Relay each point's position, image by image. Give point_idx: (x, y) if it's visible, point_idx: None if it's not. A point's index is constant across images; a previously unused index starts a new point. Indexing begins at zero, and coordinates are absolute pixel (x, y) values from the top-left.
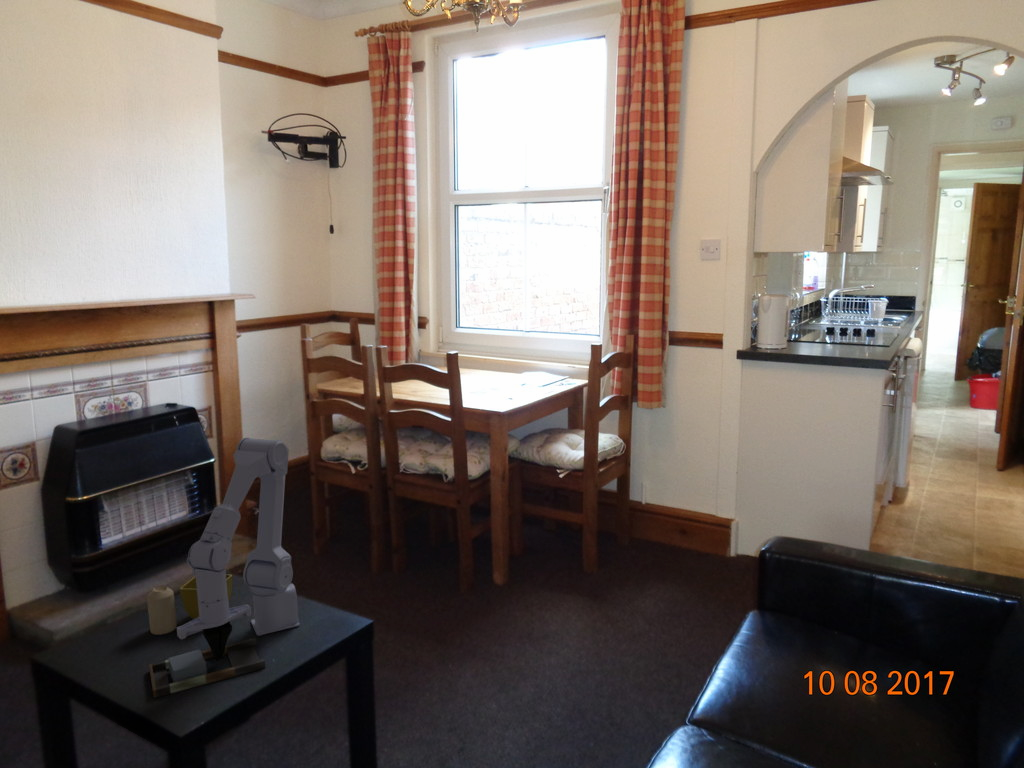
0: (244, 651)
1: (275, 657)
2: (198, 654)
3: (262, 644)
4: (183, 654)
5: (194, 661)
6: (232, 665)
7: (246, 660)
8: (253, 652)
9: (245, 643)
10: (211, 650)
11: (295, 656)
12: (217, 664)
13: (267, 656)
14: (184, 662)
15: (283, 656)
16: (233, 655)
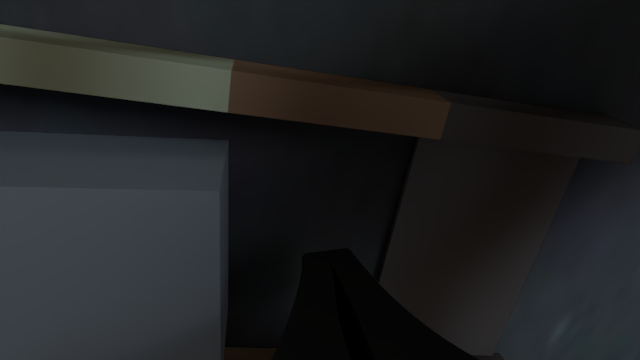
0: (508, 179)
1: (578, 314)
2: (193, 272)
3: None
4: (62, 199)
5: (144, 353)
6: None
7: (462, 280)
8: (536, 223)
9: (561, 151)
10: (300, 286)
11: (637, 350)
12: (318, 216)
13: (560, 286)
14: (64, 330)
15: (606, 325)
16: (436, 187)
